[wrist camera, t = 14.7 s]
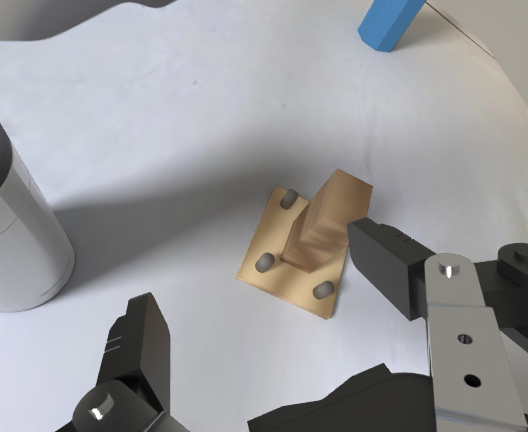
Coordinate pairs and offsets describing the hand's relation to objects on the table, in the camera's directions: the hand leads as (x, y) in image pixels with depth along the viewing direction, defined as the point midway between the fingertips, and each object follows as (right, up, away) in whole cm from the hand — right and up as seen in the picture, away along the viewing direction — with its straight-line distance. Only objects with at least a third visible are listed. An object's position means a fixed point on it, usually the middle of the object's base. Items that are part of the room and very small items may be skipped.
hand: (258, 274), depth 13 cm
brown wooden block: (+5, -2, +28) cm, 29 cm away
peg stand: (+5, -2, +29) cm, 30 cm away
